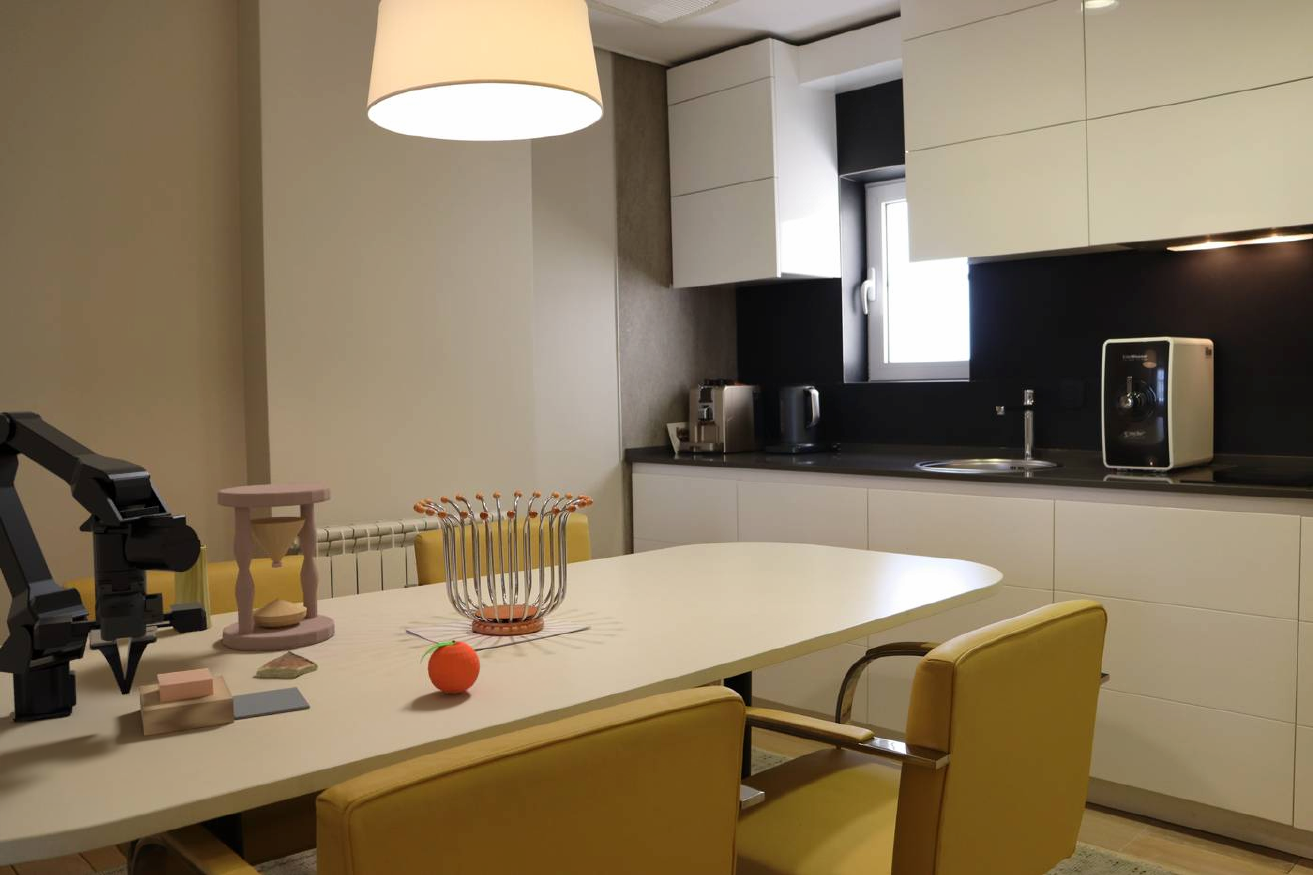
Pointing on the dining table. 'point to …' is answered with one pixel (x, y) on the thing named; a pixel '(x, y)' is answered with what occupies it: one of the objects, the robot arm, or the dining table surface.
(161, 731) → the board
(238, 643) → the hourglass
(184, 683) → the pink square block
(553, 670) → the dining table surface
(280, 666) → the shard
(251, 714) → the mat
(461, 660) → the clementine
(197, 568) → the vase
